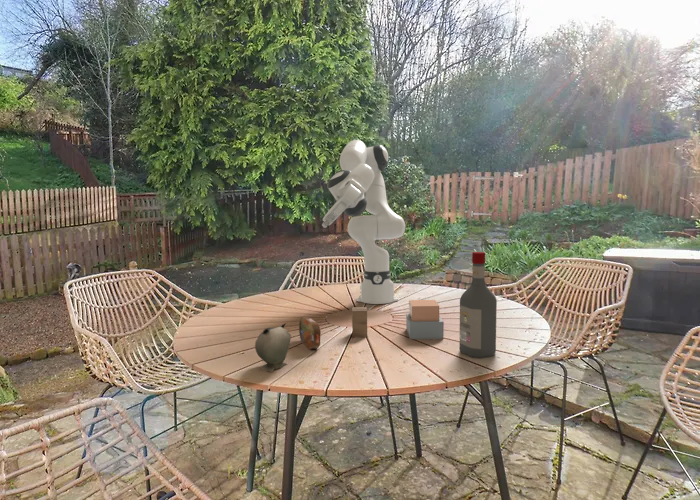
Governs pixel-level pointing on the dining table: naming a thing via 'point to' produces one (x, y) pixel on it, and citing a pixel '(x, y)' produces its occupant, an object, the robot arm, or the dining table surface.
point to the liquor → (478, 314)
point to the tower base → (425, 329)
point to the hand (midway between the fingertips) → (329, 220)
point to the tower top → (424, 310)
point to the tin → (309, 332)
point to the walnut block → (359, 321)
